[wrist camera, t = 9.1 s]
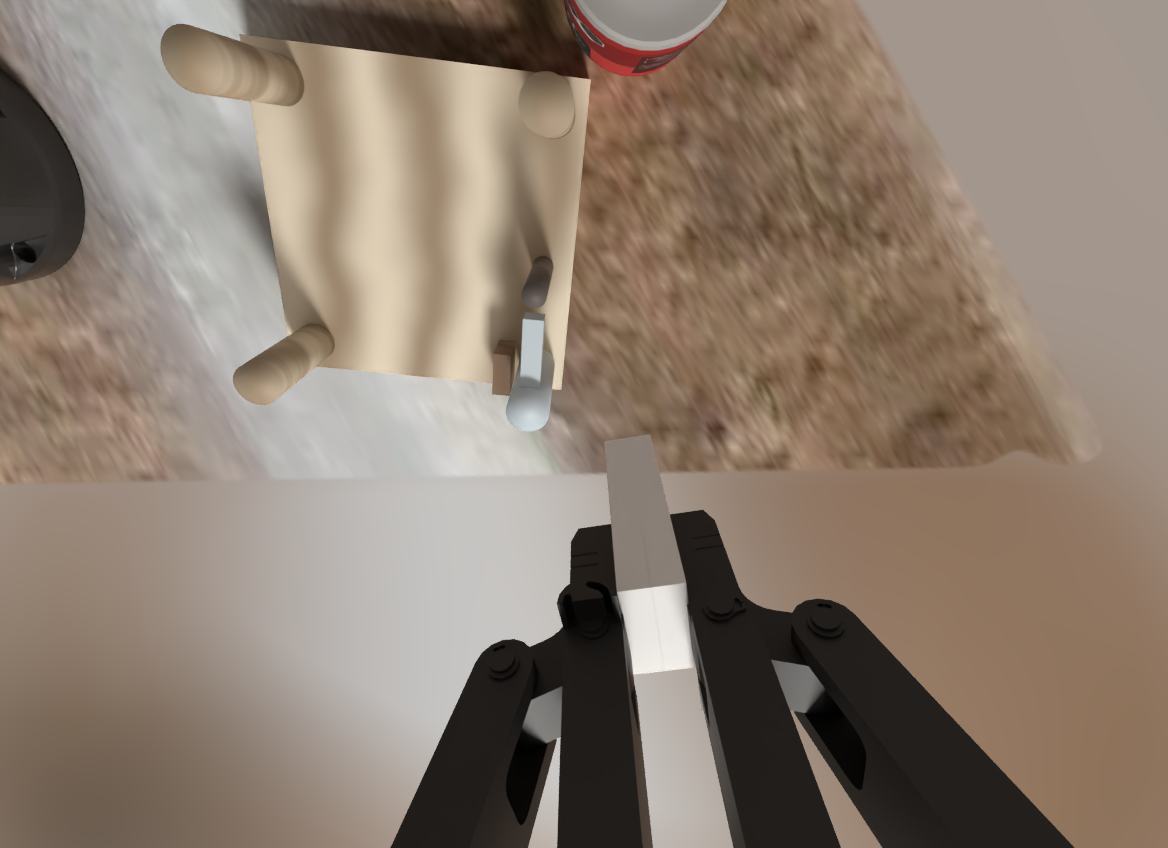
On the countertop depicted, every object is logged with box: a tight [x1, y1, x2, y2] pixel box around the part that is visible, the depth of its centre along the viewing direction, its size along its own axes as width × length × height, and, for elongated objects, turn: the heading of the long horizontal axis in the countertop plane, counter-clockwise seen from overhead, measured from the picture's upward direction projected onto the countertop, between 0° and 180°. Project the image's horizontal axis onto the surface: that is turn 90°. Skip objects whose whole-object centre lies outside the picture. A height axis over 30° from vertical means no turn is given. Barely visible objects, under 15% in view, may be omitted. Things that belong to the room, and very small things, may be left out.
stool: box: [161, 24, 591, 405], centre depth 32 cm, size 20×20×10 cm
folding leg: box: [506, 312, 555, 431], centre depth 34 cm, size 3×7×8 cm, turn 175°
